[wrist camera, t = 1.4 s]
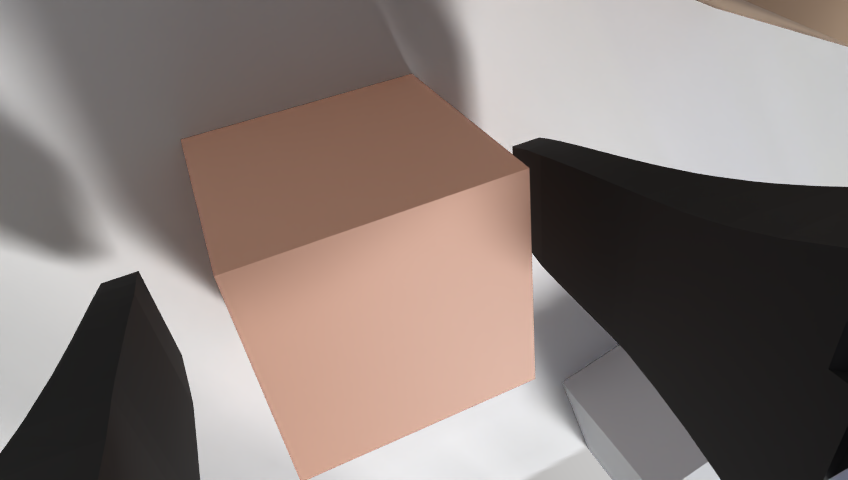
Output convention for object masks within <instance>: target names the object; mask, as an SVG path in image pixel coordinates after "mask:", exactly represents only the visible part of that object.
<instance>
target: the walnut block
mask: <svg viewBox="0 0 848 480" xmlns="http://www.w3.org/2000/svg"><path fill="white" fill-rule="evenodd" d="M697 1H699V2H702V3H704V4H707V5H709V6H712V7H714V8H717V9H720V10H724V11H727V12H731V13H734V14H738V15H741V16H744V17H748V18H751V19H755V20H758V21H762V22H765V23H768V24H772V25H775V26H779V27H782V28H786V29H789V30H792V31H796V32H799V33H803V34H806V35H810V36H813V37H816V38H820V39H823V40H827V41H830V42H834V43H837V44H840V45H844V46H847V47H848V0H697Z"/></svg>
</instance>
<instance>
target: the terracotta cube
mask: <svg viewBox="0 0 848 480" xmlns="http://www.w3.org/2000/svg"><path fill="white" fill-rule="evenodd" d="M181 143H182V147H183V151H184V155H185V160H186V164H187V168H188V172H189V176H190V180H191V184H192V188H193V193H194V197H195V201H196V205H197V209H198V213H199V217H200V221H201V226H202V230H203V234H204V238H205V242H206V246H207V250H208V254H209V259H210V263H211V267H212V271H213V275H214V278H215V280H216V283H217V285H218V287H219V290H220V292H221V295H222V297H223V299H224V302H225V304H226V306H227V309H228V311H229V313H230V316H231V318H232V320H233V323H234V325H235V327H236V330H237V332H238V335H239V337H240V339H241V342H242V344H243V346H244V349H245V351H246V353H247V356H248V358H249V360H250V363H251V365H252V368H253V370H254V372H255V375H256V377H257V379H258V382H259V384H260V386H261V389H262V391H263V393H264V396H265V398H266V401H267V403H268V405H269V408H270V410H271V412H272V415H273V417H274V419H275V422H276V424H277V426H278V429H279V431H280V434H281V436H282V438H283V441H284V443H285V445H286V448H287V450H288V452H289V455H290V457H291V459H292V462H293V464H294V467H295V469H296V471H297V474H298V476H299V478H300V480H307V479H310V478H312V477H314V476H317V475H319V474H321V473H323V472H326V471H328V470H330V469H332V468H335V467H337V466H339V465H341V464H344V463H346V462H348V461H350V460H353V459H355V458H357V457H360V456H362V455H364V454H366V453H369V452H371V451H373V450H375V449H378V448H380V447H382V446H384V445H387V444H389V443H391V442H393V441H396V440H398V439H400V438H402V437H405V436H407V435H409V434H412V433H414V432H416V431H418V430H421V429H423V428H425V427H427V426H430V425H432V424H434V423H436V422H439V421H441V420H443V419H445V418H448V417H450V416H452V415H455V414H457V413H459V412H461V411H464V410H466V409H468V408H470V407H473V406H475V405H477V404H479V403H482V402H484V401H486V400H488V399H491V398H493V397H495V396H498V395H500V394H502V393H504V392H507V391H509V390H511V389H513V388H516V387H518V386H520V385H522V384H525V383H527V382H529V381H531V380H534V379H535V353H534V317H533V281H532V245H531V209H530V173H529V167H527V166H526V165H525V164H524V163H522V162H521V161H520V160H519V159H517V158H516V157H515V156H514V155H513V154H511V153H510V152H509V151H508V150H506V149H505V148H504V147H503V146H501V145H500V144H499V143H498V142H496V141H495V140H494V139H493V138H491V137H490V136H489V135H488V134H486V133H485V132H484V131H483V130H481V129H480V128H479V127H478V126H476V125H475V124H474V123H473V122H471V121H470V120H469V119H468V118H466V117H465V116H464V115H463V114H461V113H460V112H459V111H458V110H456V109H455V108H454V107H453V106H451V105H450V104H449V103H448V102H446V101H445V100H444V99H443V98H441V97H440V96H439V95H438V94H436V93H435V92H434V91H433V90H431V89H430V88H429V87H428V86H426V85H425V84H424V83H423V82H421V81H420V80H419V79H418V78H416V77H415V76H414V75H413V74H409V75H406V76H402V77H399V78H395V79H391V80H388V81H384V82H381V83H377V84H374V85H370V86H367V87H363V88H360V89H356V90H353V91H349V92H346V93H342V94H339V95H335V96H332V97H328V98H325V99H321V100H318V101H314V102H311V103H307V104H304V105H300V106H297V107H293V108H290V109H286V110H283V111H279V112H276V113H272V114H269V115H265V116H262V117H258V118H255V119H251V120H248V121H244V122H241V123H237V124H234V125H230V126H227V127H223V128H220V129H216V130H212V131H209V132H205V133H202V134H198V135H195V136H191V137H188V138H184V139H181Z"/></svg>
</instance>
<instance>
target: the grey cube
mask: <svg viewBox="0 0 848 480" xmlns="http://www.w3.org/2000/svg"><path fill="white" fill-rule="evenodd" d="M562 383H563V386H564V388H565V391H566V394H567V396H568V399H569V401H570V404H571V406H572V409H573V411H574V414H575V416H576V419H577V421H578V424H579V426H580V429H581V431H582V434H583V436H584V439H585V442H586V444H587V448H588V449H589V450H590V452H591V453H592V454H593V456H594V457H595V458H596V459H597V461H598V462H599V463H600V465H601V466H602V467H603V468H604V470H605V471H606V472H607V473H608V475H609V476H610V477H611V479H612V480H720V478H719V477H718V475H717V474H716V472H715V471H714V469H713V468H712V466H711V465H710V464H709V462H708V461H707V459H706V458H705V456H704V455H703V454H702V452H701V451H700V449H699V448H698V446H697V445H696V443H695V442H694V441H693V439H692V438H691V436H690V435H689V433H688V432H687V430H686V429H685V428H684V426H683V425H682V424H681V422H680V421H679V420H678V418H677V417H676V416H675V414H674V413H673V412H672V410H671V409H670V408H669V406H668V405H667V404H666V402H665V401H664V400H663V398H662V397H661V396H660V394H659V393H658V392H657V390H656V389H655V388H654V386H653V385H652V384H651V383H650V381H649V380H648V379H647V378H646V376H645V375H644V374H643V373H642V371H641V370H640V369H639V368H638V366H637V365H636V364H635V363H634V361H633V360H632V359H631V358H630V356H629V355H628V354H627V353H626V352H625V350H624V349H623V348H622V347H621V346H620V345H618V346H617V347H615V348H614V349H612V350H611V351H609V352H608V353H606V354H605V355H603V356H602V357H600V358H599V359H597V360H595V361H594V362H592V363H591V364H589V365H588V366H586V367H585V368H583V369H582V370H580V371H579V372H577V373H576V374H574V375H573V376H571V377H570V378H568V379H567V380H565V381H563V382H562Z"/></svg>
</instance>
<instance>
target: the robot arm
mask: <svg viewBox="0 0 848 480" xmlns="http://www.w3.org/2000/svg"><path fill="white" fill-rule="evenodd" d="M513 155H514V156H515V157H516V158H517V159H519V160H520V161H521V162H522V163H524V164H525V165H526V166H527V167H529V173H530V209H531V245H532V253H533V255H534V256H535V257H536V259H537V260H538V261H539V263H540V264H541V265H542V266H543V267H544V269H545V270H546V271H547V272H548V273H549V274H550V275H551V276H552V277H553V278H554V279H555V280H556V281H557V282H558V283H559V284H560V285H561V286H562V287H563V288H564V289H565V290H566V291H567V292H568V293H569V294H570V295H571V296H572V297H573V298H574V299H575V300H576V301H577V302H578V303H579V304H580V305H581V306H582V307H583V308H584V309H585V310H586V311H587V312H588V313H589V314H590V315H591V316H592V317H593V318H594V319H595V320H596V321H597V322H598V323H599V324H600V325H601V326H602V327H603V328H604V329H605V330H606V331H607V332H608V333H609V334H610V335H611V336H612V337H613V338H614V339H615V341H616V342H617V343H618V344H619V345H620V346H621V347H622V348H623V349H624V350H625V352H626V353H627V354H628V355H629V356H630V358H631V359H632V360H633V361H634V363H635V364H636V365H637V366H638V368H639V369H640V370H641V371H642V373H643V374H644V375H645V376H646V378H647V379H648V380H649V381H650V383H651V384H652V385H653V386H654V388H655V389H656V390H657V392H658V393H659V394H660V396H661V397H662V398H663V400H664V401H665V402H666V404H667V405H668V406H669V408H670V409H671V410H672V412H673V413H674V414H675V416H676V417H677V418H678V420H679V421H680V422H681V424H682V425H683V426H684V428H685V429H686V430H687V432H688V433H689V435H690V436H691V438H692V439H693V441H694V442H695V443H696V445H697V446H698V448H699V449H700V451H701V452H702V454H703V455H704V456H705V458H706V459H707V461H708V462H709V464H710V465H711V466H712V468H713V469H714V471H715V472H716V474H717V475H718V477H719V478H720V480H848V187H829V186H806V185H790V184H774V183H764V182H753V181H745V180H738V179H730V178H723V177H715V176H709V175H703V174H697V173H692V172H687V171H682V170H677V169H672V168H667V167H662V166H658V165H653V164H649V163H645V162H641V161H636V160H632V159H628V158H624V157H620V156H616V155H613V154H609V153H605V152H601V151H597V150H593V149H590V148H586V147H582V146H578V145H574V144H570V143H565V142H561V141H557V140H551V139H545V138H537V139H534V140H531V141H528V142H525V143H522V144H519V145H516V146H513ZM0 480H200V474H199V463H198V451H197V440H196V429H195V418H194V408H193V401H192V397H191V392H190V388H189V383H188V379H187V375H186V371H185V366H184V362H183V358H182V355H181V353H180V351H179V349H178V347H177V345H176V343H175V341H174V339H173V337H172V335H171V333H170V331H169V329H168V327H167V325H166V324H165V322H164V320H163V318H162V316H161V314H160V312H159V310H158V308H157V306H156V304H155V302H154V300H153V298H152V296H151V294H150V292H149V291H148V289H147V287H146V285H145V283H144V281H143V279H142V277H141V275H140V273H139V271H137V272H134V273H131V274H128V275H125V276H122V277H119V278H116V279H113V280H110V281H107V282H104V283H101V285H100V286H99V288H98V290H97V292H96V294H95V296H94V297H93V299H92V301H91V303H90V305H89V307H88V309H87V311H86V313H85V315H84V317H83V319H82V321H81V323H80V324H79V326H78V328H77V330H76V332H75V334H74V336H73V338H72V340H71V342H70V344H69V345H68V347H67V349H66V351H65V353H64V354H63V356H62V358H61V360H60V362H59V363H58V365H57V367H56V369H55V371H54V372H53V374H52V376H51V378H50V379H49V381H48V382H47V384H46V386H45V387H44V389H43V390H42V392H41V394H40V395H39V397H38V398H37V400H36V402H35V403H34V405H33V406H32V408H31V410H30V411H29V413H28V414H27V416H26V418H25V419H24V421H23V422H22V424H21V425H20V426H19V428H18V429H17V431H16V432H15V434H14V435H13V436H12V438H11V439H10V441H9V442H8V443H7V445H6V446H5V448H4V449H3V450H2V452H1V453H0Z"/></svg>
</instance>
